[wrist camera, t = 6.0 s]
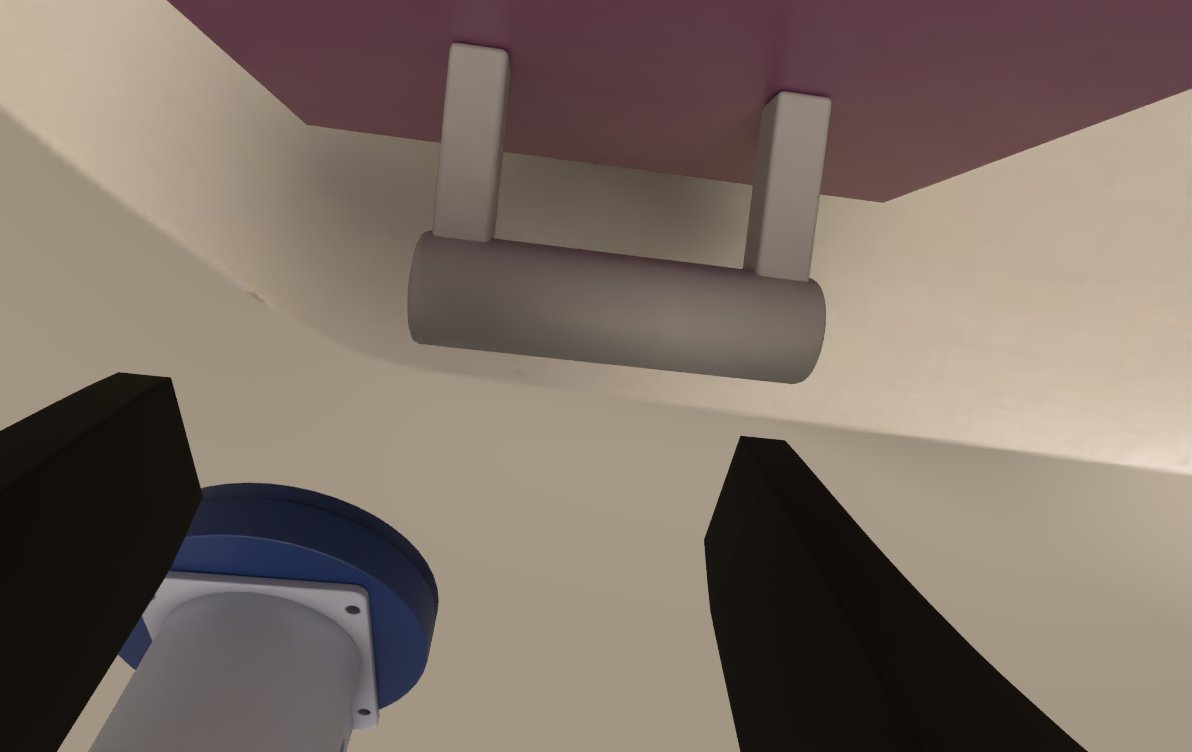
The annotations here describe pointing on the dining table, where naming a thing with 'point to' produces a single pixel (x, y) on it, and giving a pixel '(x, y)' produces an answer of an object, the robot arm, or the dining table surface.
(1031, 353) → the dining table surface
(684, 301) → the lid
